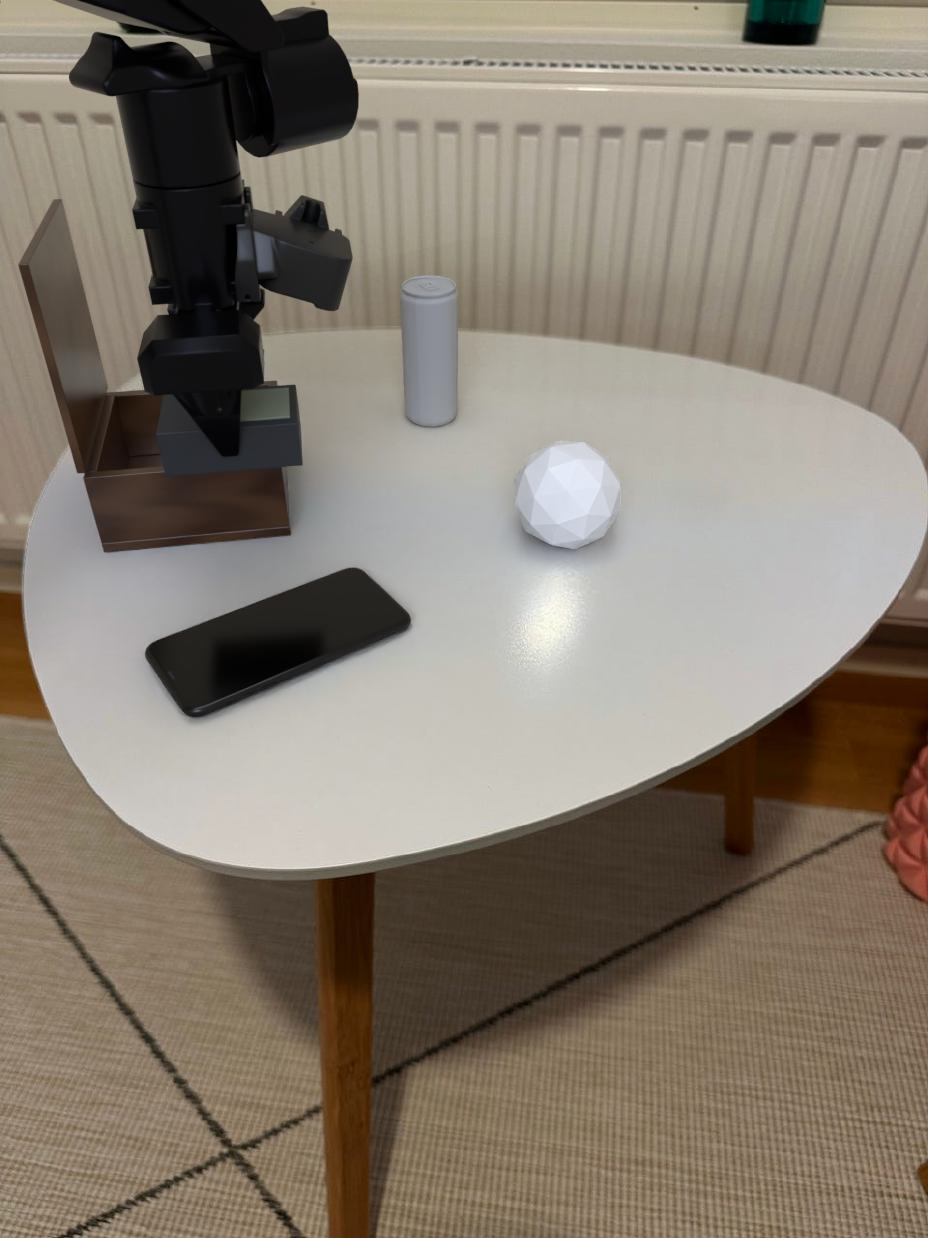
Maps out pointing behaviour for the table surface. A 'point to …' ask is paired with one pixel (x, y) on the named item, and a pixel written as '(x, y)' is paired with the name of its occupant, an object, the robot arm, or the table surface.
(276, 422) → the black lcd device
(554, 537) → the geometric ball
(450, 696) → the table surface
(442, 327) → the beverage can
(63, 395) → the case lid
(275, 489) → the case
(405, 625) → the smartphone
